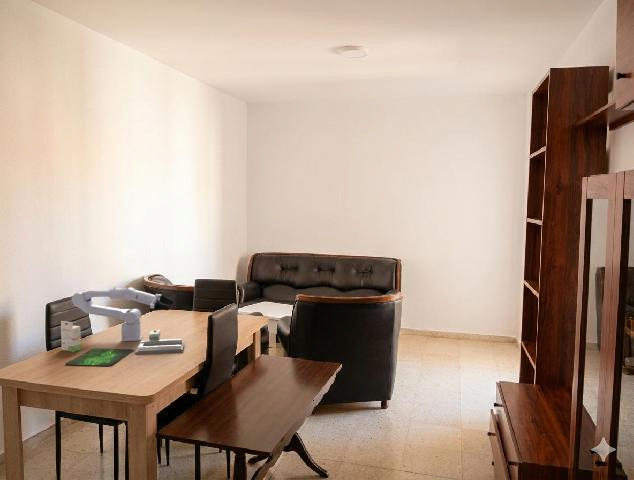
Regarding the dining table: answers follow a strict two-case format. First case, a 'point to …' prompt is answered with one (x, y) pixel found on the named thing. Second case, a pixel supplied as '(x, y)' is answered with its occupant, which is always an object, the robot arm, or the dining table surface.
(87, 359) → the mouse mat
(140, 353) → the mounting board
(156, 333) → the module
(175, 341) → the rail
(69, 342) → the ink box
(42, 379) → the dining table surface
